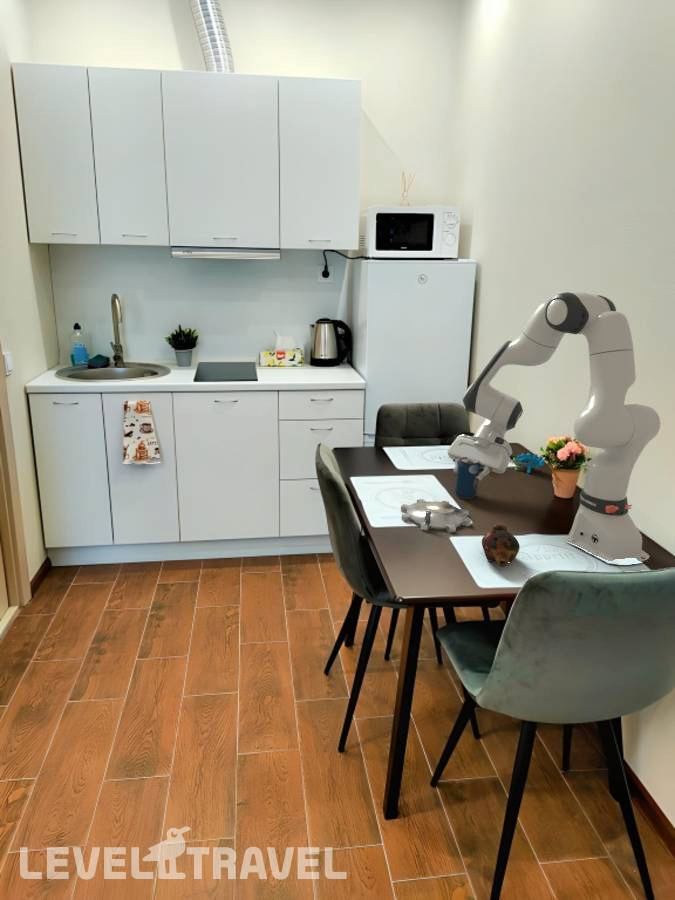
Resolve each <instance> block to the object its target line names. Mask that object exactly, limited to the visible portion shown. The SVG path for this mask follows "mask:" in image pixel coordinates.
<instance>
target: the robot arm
mask: <svg viewBox="0 0 675 900" xmlns="http://www.w3.org/2000/svg"><path fill="white" fill-rule="evenodd" d="M565 334H571V335H582V336H584V338H586V340H587V344H588V356H589V359H588V360H589V373H590V375H589V377H590V388H589V391H588V397H587V400H586V402H585V405H584V406H583V408H582V410H581V411H580V413H579V414H578V415H577V416H576V418H575V420H574V424H573V433H574V435H575V437H576V439H577V441H578V442H579V443H580V444H581V445H583V446H585V447H587V448H588V447H590V448H594V449H595V448H596V449H600V450H599V452H597V454H596V455H595V456H594V457H593V458H591V459H590V460H589V462H588V464H587V468H586V473H585V478H584V485H583V487H582V489H581V491H580V493H579V500H578V501H579V507H578V509H577V511H576V514H575V516H574V520H573V523H572V527H571V529H570V531H569V533H568V536H567V537H566V541H568V542H570V543H572V544H575V545H577V546H579V547H581V548H583V549H585V550H587V551H588V552H591V553H592V554H594V555H596V556H599V557H601V558H603V559H605V560H608V561H613V560H615V559H625V558H636V559H637V560H638V561H644V560H647V559H649V557H651V556H650V555H649V553H647V552H646V551H644V550H643V549H642V548H643V536H642V534H641V532H640V528H638V527H637V526H636V524H635V523H634V521H633V519H632V518H631V516H630V514H629V510H631V509H632V508H633V507H632V506H633V505H632V504H629V503H628V497H627V492H628V488H629V484H630V479H631V475H632V471H633V469H634V468H635V465H636V463H637V461H638V459H639V457H640V456H641V454H642V452H643V451H644V449H645V447H646V446H647V445H648V444H649V443H650V441H652V440H653V439H654V438H656V436H657V435H658V434H659V431H660V428H661V419H660V416H659V413H658V412H657V411H656V410H655V408H653V407H651V406H647V405H643V404H637V403H629V404H628V403H626V404H625V399H626V396H627V393H628V390H629V389H630V388H631V387H632V386H633V384H634V383H635V381H636V377H637V375H636V363H635V352H634V343H633V337H632V333H631V328H630V325H629V322H628V319H627V316H626V315H625V314H623V313H622V312H620V311H617V308H616V306H615V304H614V302H613V301H612V300H611V299H609V298H607V297H605V296H603V295H598V294H597V295H596V294H591V293H587V292H569V291H568V292H566V291H565V292H562V293H557V294H556V295H554V296H552V297H551V298H550V299H549V300H547V301H543V302H542V303H540V304H539V305H538V307H536V309H535V310H534V312H533V313H532V314H531V316H530V317H529V319H528V321H527V322H526V324H525V325H524V328H523V330H522V332H521V333H520V335H519V336H518V337H516V338H515V339H513V340H507V341H506V342H504V343H503V344H502V345H501V346H500V348H499V349H498V350H497V351H496V353H495V354H494V356H492V358H491V359H490V360H489V362H488V363H487V365H486V366H485V367H484V369H483V370H482V372H480V374H479V375H478V377H477V378H476V379H475V381H473V383H471V384H470V385H469V386H468V387H467V389H466V390H465V392H464V395H463V397H462V402H463V403H462V404H463V405H464V407H465V410H466V411H468V412H470V413H473V414H476V415H478V416H480V417H482V418H483V421H482V423H481V424H480V425H479V426H478V427H477V429H476V431H475V432H474V433H475V434H474V436H473V437H472V436H467V435H465V434H463V435H460V436H457V438H456V439H455V441H454V442H452V443H451V445H450V446H449V447H448V449H447V455H448V457H449V459H451V460H452V459H453V460H455V462H454V465H455V466H454V468H453V472H454V473H455V474H457V469H458V463H459V462H460V460H461V458H463V457H467V459H469V460H471V459H472V461H473V460H474V461H477V462H478V461H479V465H480V469H483V470H482V471H480V472H479V473H477V475H476V479H477V480H478V481H482V480H483V478H484V477H486V476H487V475H489V474H490V473H491V472H493V473H496V474H499V475H501V474H504V473H505V472H506V470H507V468H508V466H509V463H510V462H511V461H510V460H511V456H512V455H513V450H512V447H511V445H510V443H509V441H508V440H506V439H505V435H506V433H507V432H508V431H510V430H512V429H514V428H516V424H517V423H518V422H519V419H520V418H521V416H522V414H523V412H524V410H523V406H522V404H521V402H520V401H519V399H517V398H514V397H513V396H511V395H509V394H506V393H504V392H502V391H501V390H498V389H496V388H495V387H492V386H491V384H490V383H491V381H492V380H493V379H494V377H495V376H496V375H497V374H498V372H499V371H500V370H501V368H503V367H504V366H510V365H511V366H512V365H514V366H524V367H536V366H540V365H543V364H545V363H547V362H548V361H549V360H550V359H551V358H552V356H553V355H554V353H556V352H555V351H556V350H557V348H558V346H559V344H560V342H561V341H562V340H563V337H564V336H565ZM461 436H462V437H461ZM453 460H452V461H453ZM641 557H642V558H645V559H642V558H641ZM649 560H650V559H649Z"/></svg>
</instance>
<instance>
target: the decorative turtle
mask: <svg viewBox="0 0 675 900" xmlns="http://www.w3.org/2000/svg"><path fill="white" fill-rule="evenodd" d="M481 545H482V549H483V552H484V555H485V558H486V560H487V561H488V560H491V562H493V561H495V562H496V564H497V565H498V566H500V567H506V566H507V565H508V564H509V563H508V562H511V563H513V562H512V561H514V560H515V559H516V557H518V556H517V555H518V554H519V552H520V549H521V547H520V543H519V541H518V538H516V537H515V536H514V535H513V533H511V532H509V531H508V527H507V525H505V524H504V523H503V522H497V523H495V524H494V525H493V526H492V529H491V530H490V531H489V532H488V531H487V533H485V534H484V535H483V537H482V539H481Z"/></svg>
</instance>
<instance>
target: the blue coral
mask: <svg viewBox="0 0 675 900" xmlns="http://www.w3.org/2000/svg"><path fill="white" fill-rule="evenodd" d="M512 462H514V465H515V467H514V471H516V470H517V471H518V467H520V466H521V467H522V468H523V467H524V468H527V470H526V473H527V474H530V473H531V469H534V467H535V468H537V469H539V468H540V467H544V464H545V463H546V460H545V459H543V457H542V456H538V454H537V453H534V454H533V455H532V453H531V452H527V453H526V454H525V453H524V452H522V453H521V454H520V455H519V454H517V456H516V457H513V459H512Z"/></svg>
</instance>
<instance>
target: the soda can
mask: <svg viewBox="0 0 675 900" xmlns="http://www.w3.org/2000/svg"><path fill="white" fill-rule="evenodd" d="M480 470H481V468H480V465H479V461H478V462H477V461H474V460H473V461H472V459H471V460H469V459H467V457H463V458H461V460H460V462H459V463H458V469H457V473H456V476H455V477H456V479H455V487H454V492H455V495H456V496H457V497H458V498H461V499H465V498H466V500H467V498H468V499H473V498H474V497H475V496H476V495H477V493H478V485H479V480H477V479H476V475H477V473H480V472H481V471H480Z"/></svg>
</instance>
